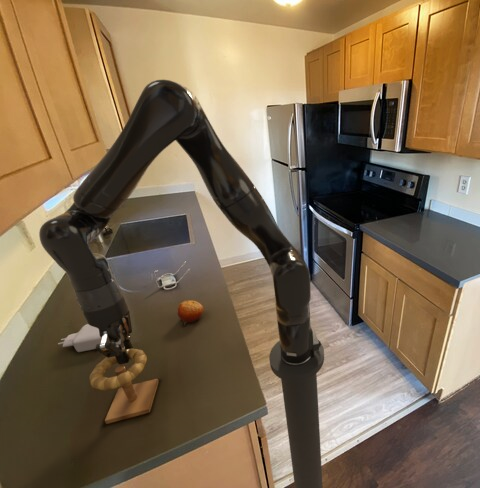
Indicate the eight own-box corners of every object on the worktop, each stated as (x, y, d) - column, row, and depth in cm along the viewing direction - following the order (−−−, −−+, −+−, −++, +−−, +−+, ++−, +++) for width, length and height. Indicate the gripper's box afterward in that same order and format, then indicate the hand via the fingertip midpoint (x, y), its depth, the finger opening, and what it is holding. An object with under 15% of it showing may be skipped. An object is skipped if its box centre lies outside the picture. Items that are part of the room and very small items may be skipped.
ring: (152, 349, 71) (149, 342, 70) (140, 384, 61) (137, 376, 60) (103, 360, 68) (100, 352, 67) (83, 398, 58) (78, 390, 57)
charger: (70, 337, 90) (122, 327, 94) (54, 358, 82) (112, 347, 86) (64, 326, 88) (118, 316, 92) (47, 346, 80) (106, 335, 84)
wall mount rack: (155, 278, 124) (151, 266, 122) (187, 269, 131) (184, 258, 129) (159, 293, 112) (155, 281, 110) (194, 283, 119) (191, 271, 117)
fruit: (170, 317, 96) (178, 296, 96) (192, 317, 102) (200, 298, 102) (177, 328, 91) (186, 306, 90) (201, 328, 96) (208, 307, 96)
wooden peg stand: (158, 381, 74) (146, 350, 69) (149, 412, 66) (135, 379, 61) (120, 391, 72) (105, 359, 67) (106, 424, 64) (88, 390, 59)
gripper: (109, 315, 56) (135, 376, 63) (131, 281, 68) (151, 335, 75) (65, 323, 54) (96, 385, 61) (95, 286, 66) (119, 341, 73)
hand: (126, 357), depth 68 cm, fingers closed on ring, 2 cm apart
